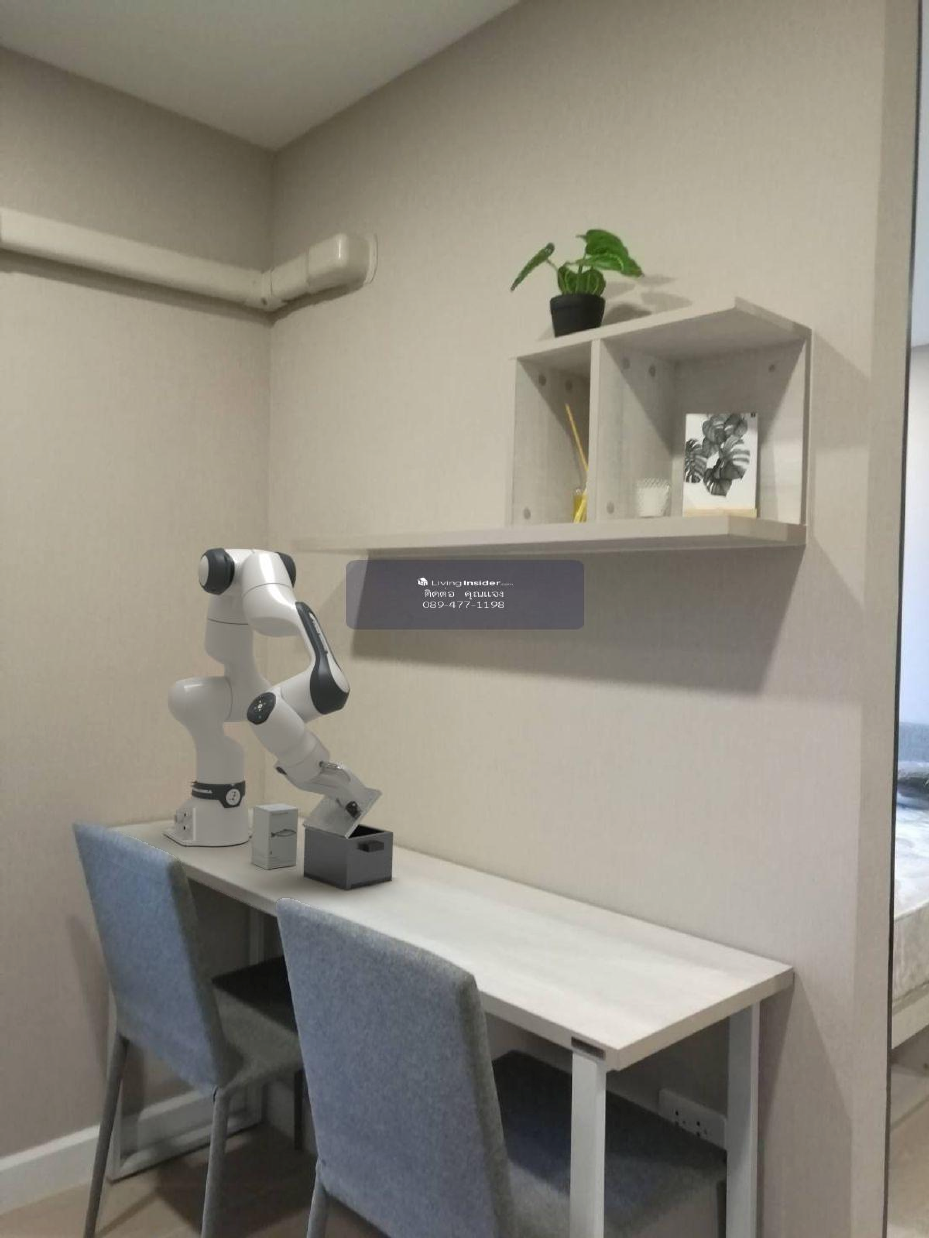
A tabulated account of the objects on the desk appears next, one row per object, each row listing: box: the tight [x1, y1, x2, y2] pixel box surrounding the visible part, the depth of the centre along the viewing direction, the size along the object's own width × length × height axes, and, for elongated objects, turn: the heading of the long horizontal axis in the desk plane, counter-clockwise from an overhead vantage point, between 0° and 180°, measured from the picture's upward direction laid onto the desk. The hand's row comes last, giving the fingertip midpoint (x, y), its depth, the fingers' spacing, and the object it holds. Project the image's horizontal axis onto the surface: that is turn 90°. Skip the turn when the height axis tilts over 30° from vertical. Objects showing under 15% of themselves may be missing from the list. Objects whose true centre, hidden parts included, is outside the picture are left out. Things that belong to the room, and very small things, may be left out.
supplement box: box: [250, 802, 299, 871], centre depth 214 cm, size 7×7×13 cm
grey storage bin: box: [303, 822, 394, 892], centre depth 204 cm, size 18×12×10 cm
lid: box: [301, 786, 383, 839], centre depth 202 cm, size 14×12×3 cm
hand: (345, 804), depth 202 cm, fingers closed, pressing on lid
